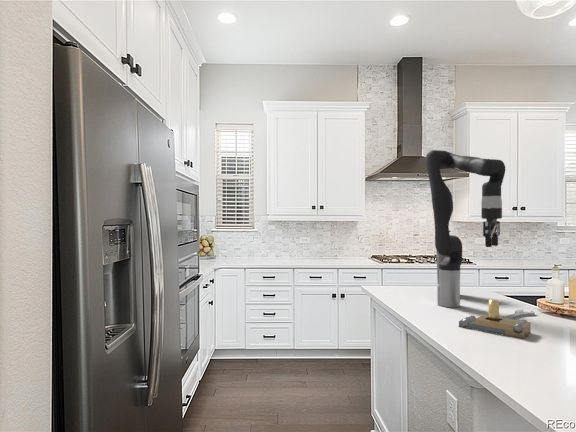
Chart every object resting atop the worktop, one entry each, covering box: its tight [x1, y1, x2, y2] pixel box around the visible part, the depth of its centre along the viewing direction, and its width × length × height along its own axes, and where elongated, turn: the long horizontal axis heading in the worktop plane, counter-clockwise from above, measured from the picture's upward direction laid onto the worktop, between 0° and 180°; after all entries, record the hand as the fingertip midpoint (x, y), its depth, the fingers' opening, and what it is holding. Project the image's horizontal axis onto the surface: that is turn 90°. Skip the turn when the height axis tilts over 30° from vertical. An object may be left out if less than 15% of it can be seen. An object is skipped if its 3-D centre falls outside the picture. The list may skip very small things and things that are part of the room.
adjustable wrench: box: [501, 309, 536, 320], centre depth 160 cm, size 25×6×2 cm, turn 118°
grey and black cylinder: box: [436, 230, 454, 285], centre depth 206 cm, size 13×13×35 cm
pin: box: [488, 298, 500, 322], centre depth 142 cm, size 3×3×11 cm
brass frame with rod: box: [458, 314, 532, 340], centre depth 142 cm, size 22×10×4 cm, turn 46°
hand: (491, 246), depth 157 cm, fingers open, 8 cm apart
